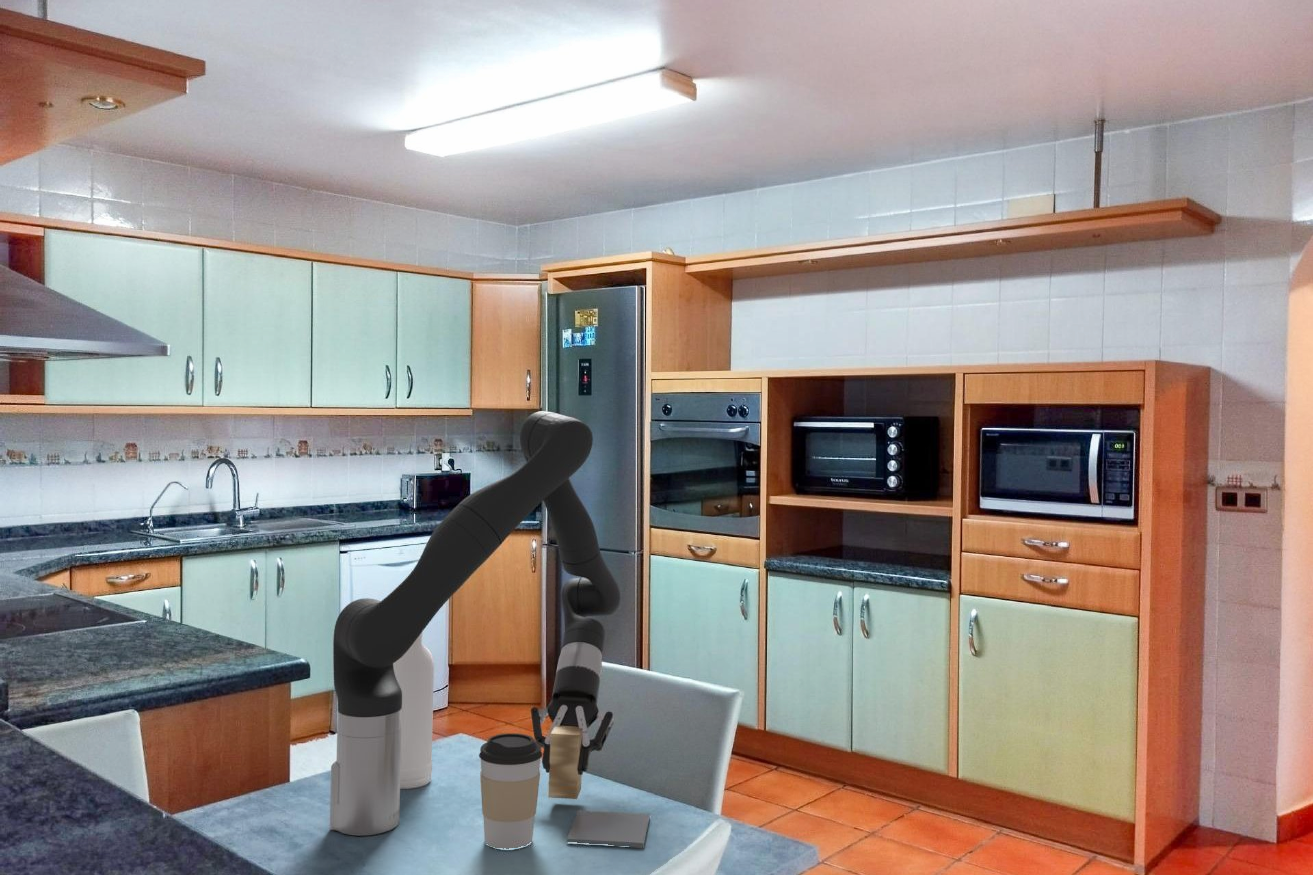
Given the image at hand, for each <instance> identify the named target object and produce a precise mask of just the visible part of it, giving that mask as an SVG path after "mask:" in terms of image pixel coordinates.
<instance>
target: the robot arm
mask: <svg viewBox="0 0 1313 875" xmlns="http://www.w3.org/2000/svg"><path fill="white" fill-rule="evenodd" d="M519 433H520V434H519V443H520V448H521V452H522V454H523V457H524V459H525V461H526V462H525V463H524V464H523V465H522V466H520V468H518V469H517V470H516V471H514V472H512V473H511V474H509V475H507V476H505V477H503V478H501V479H499V480H497V481H495V482H492V483H490V484H488V485H486V486H484V487H481V488H480V489H478V490H476V491H475V492H473V493H471V494H469V495H468V496H466V497H465V498H464V499H462V501H460V502H459V503H458V504H457V505H456V506H455V507H454V508H453V509H452V510H451V511H450V512H449V513H448V515H447V516H445V518H443V519H442V520H441V521H440V523H439V524H437V526H436V527H435V529H434V530H433V531H432V533H431V535H430V537H429V539H428V541H427V542H426V544H425V546H424V549H423V551H422V553H421V555H420V558H419V560H418V561H417V563H416V565H415V566H414V568H413V569H412V570H411V571H410V573H409V574H408V575H407V576H406V578H405V579H404V580H403V581H402V582H401V583H400V584H398V585H397V587H395V588H394V589H393V590H392V591H391V592H390V593H389V594H388V595H387V596H386V597H385V598H383V599H382V600H378V599H374V598H366V597H365V598H358V599H356V600H353V601H351V602H350V603H348V604H347V605H346V606H345V607H344V608H343V609H342V610H341V611H340V613H339V615H338V616H337V619H336V622H335V624H334V629H333V641H332V645H333V646H332V647H333V648H332V649H333V650H332V656H333V660H332V661H333V663H332V664H333V666H332V667H333V687H334V691H335V694H336V698H337V722H336V723H337V724H336V725H337V726H336V728H337V731H336V734H337V735H336V760H335V761H334V762H333V763H332V764H331V766H330V790H329V791H330V794H329V795H330V798H329V804H330V805H329V830H331V831H337V832H339V833H341V834H343V835H348V836H349V835H350V836H373V835H378V834H382V833H383V834H384V833H386V832H389V831H391V830H393V829H394V828H396V827H397V826H398V825H399V823H400V811H401V810H400V809H401V806H400V802H401V800H400V797H401V789H400V768H401V729H402V728H401V727H402V690H401V688H400V686H399V684H398V682H397V679H396V677H395V673H394V667H393V663H395V662H396V661H397V660H399V659H400V658H401V657H402V656H403V655H404V654H405V653H406V652H407V651H408V650H409V648H410V647H411V646H412V645H413V643H414V642H415V641H416V639H417V638H418V637H419V635H420V634H421V633H422V634H423V631H424V630H425V629H426V627H427V626H428V625H429V624H430V622H432V620H433V618H434V617H435V615H436V614H437V613H438V612H439V611H440V609H441V608H443V606H444V604H446V603H447V602H448V600H450V599H451V597H453V595H454V594H455V593H457V591H458V590H459V589H461V587H462V586H463V585H464V584H465V583H466V582H467V581H468V580H469V579H470V577H471V576H472V575H473V574H474V573H475V572H476V571H477V570H478V569H480V567H481V566H482V565H484V563H485V562H486V561H487V560H488V559H489V558H490V557H491V556H492V554H494V553H495V552H496V551H497V549H498V548H500V546H501V545H502V544H503V543H504V542H505V540H506V539H507V538H508V537H509V536H510V535H511V533H512V532H513V531H514V530H516V528H518V527H519V525H520V524H521V523H523V521H524V520H525V519H526V518H527V517H528V516H529V515H530V514H531V513H532V512H533V511H534V510H535V509H536V507H538V506H539V505H540V504H541V503H542V502H543V503H544V506H545V509H546V511H547V514H548V516H549V519H550V523H551V527H552V529H553V533H554V536H555V541H556V545H557V549H558V553H559V557H560V561H561V564H562V568H563V570H564V571H565V573H567V574H568V575H570V576H574V577H573V578H570V579H568V580H567V581H566V582H564V584H563V585H562V587H561V590H560V602H561V608H562V614H563V621H564V623H563V624H564V625H563V626H564V633H563V639H562V645H561V650H560V655H559V657H558V662H557V664H556V665H557V666H556V667H557V668H556V672H555V678H554V684H553V690H552V696H551V700H550V702H549V704H548V705H547V707H544V708H540V709H539V708H538V707H537V706H533V707H532V708H531V709H530V714H531V721H532V722H531V723H532V731H533V735H534V736H533V737H534V740H535V742H536V743H537V744H538V745H539V746H540V747H541V749H542V748H543V751H542V757H541V758H542V759H541V764H542V767H543V769H545V773H548V774H549V769H550V738H551V732H552V730H553V729H554V727H559V726H574V727H579V728H583V730H582V747H581V748H580V755H579V762H578V767H577V771H578V775H582V776H583V774H584V772H587V770H588V768H589V762H590V754H591V752H594V751H597V752H600V751H602V750H603V748H604V745H605V743H606V741H607V739H608V736H609V734H610V732H611V729H612V727H613V725H614V715H613V712H612V711H609V710H608V711H607V712H603V711H601V710H599V707H598V700H599V692H600V685H601V679H602V670H603V669H602V668H603V660H602V659H603V658H602V657H603V649H604V644H605V628H604V625H603V624H602V623H601V622H600V621H598V620H597V619H594V618H592V617H603V616H604V617H605V616H610V615H613V614H614V613H616V611H617V610H618V608H619V606H620V603H621V593H620V589H619V585H618V582H617V581H616V579H615V577H614V575H613V574H612V573H611V571H610V569H609V568H608V565H607V564H606V562H605V560H604V559H603V556H602V553H601V549H600V546H599V545H600V544H599V541H598V536H597V532H596V528H595V526H594V523H593V520H592V517H591V516H590V514H589V512H588V510H587V508H586V506H585V505H584V504H583V501H582V500H581V499H580V497H579V495H578V494H577V492H576V490H575V488H574V486H573V484H572V482H571V479H570V478H571V477H572V476H573V475H574V474H575V473H576V472H577V471H578V470H579V469H580V468H581V467H582V466H583V465H584V463H585V462H586V461H587V459H588V457H589V456H590V454H591V451H592V447H593V445H594V444H593V443H594V442H593V441H594V436H593V432H592V430H591V428H590V427H589V425H588V424H587V423H585V422H584V421H581V420H580V419H577V418H575V417H572V416H567V415H564V414H560V413H556V412H552V411H545V410H541V411H540V410H539V411H537V412H534V413H532V414H530V415H529V416H528V417H527V418H526V419H525V420H524V422H523V424H522V426H521V429H520V432H519ZM547 716H548V718H549V719H550V720H551V723H552V724H551V726H550V728H549V731H548V733H547V735H546V736H544V735H543V733H542V730H543V729H542V725H541V724H543V723H544V722H545V721H546V717H547ZM596 720H598V724H599V727H598V729H597V731H596V734H595V736H594V738H592V739H590V736H589V732H588V729H589V728H590V727H591V725H593V724H594V722H596Z"/></svg>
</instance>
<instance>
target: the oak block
mask: <svg viewBox="0 0 1313 875" xmlns="http://www.w3.org/2000/svg"><path fill="white" fill-rule="evenodd" d="M582 730H583V728H579V727H574V726H559V727H554V729H553V730H552V732H551V738H550V769H549V773H548V794H547V796H548V798H549V799H550V798H551V799H552V798H553V799H565V800H566V799H569V800H577V799H578V797H579V795H580V793H581V790H582V777H583V775H578V771H577V767H578V762H579V755H580V748H581V747H582Z"/></svg>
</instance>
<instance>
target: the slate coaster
mask: <svg viewBox="0 0 1313 875" xmlns="http://www.w3.org/2000/svg"><path fill="white" fill-rule="evenodd" d="M649 824H650V814H649V813H632V812H631V813H630V812H616V811H615V812H613V811H599V810H597V811H596V810H595V811H594V810H580V809H579V810H577V813H576V816H575V819H574V820H573V824H572V826H571V828H570V830H569V833H568V836H567V838H566V840H567V841H566V843H567V842H577V843H589V844H608V845H614V846H629V847H636V848H635V849H644V847H645V842H646V838H647V837H646V836H647V834H648V828H649Z"/></svg>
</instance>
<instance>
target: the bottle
mask: <svg viewBox="0 0 1313 875" xmlns="http://www.w3.org/2000/svg"><path fill="white" fill-rule="evenodd" d="M393 667H394V673H395V677H396V679H397V682H398V684H399V686H400V688H401V690H402V727H401V728H402V729H401V768H400V790H405V789H406V790H409V789H417V788H421V787H424V786H426V785H428V784H429V783H430V782H431V781H432V773H433V759H432V756H433V724H434V723H433V722H434V720H433V719H434V718H433V716H434V687H435V686H434V680H435V676H434V673H435V662H434V658H433V654H432V652H431V650H429V648H428V647H426V646H425V645H424V643H423V632H422V633H421V634H420V635H419V637H418V638H417V639H416V641H415V642H414V643H413V645H412V646H411V647H410V648H409V650H408V651H407V652H406V653H405V654H404V655H403V656H402V657H401V658H400V659H399V660H397V661H396V662H395V663H393Z"/></svg>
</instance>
